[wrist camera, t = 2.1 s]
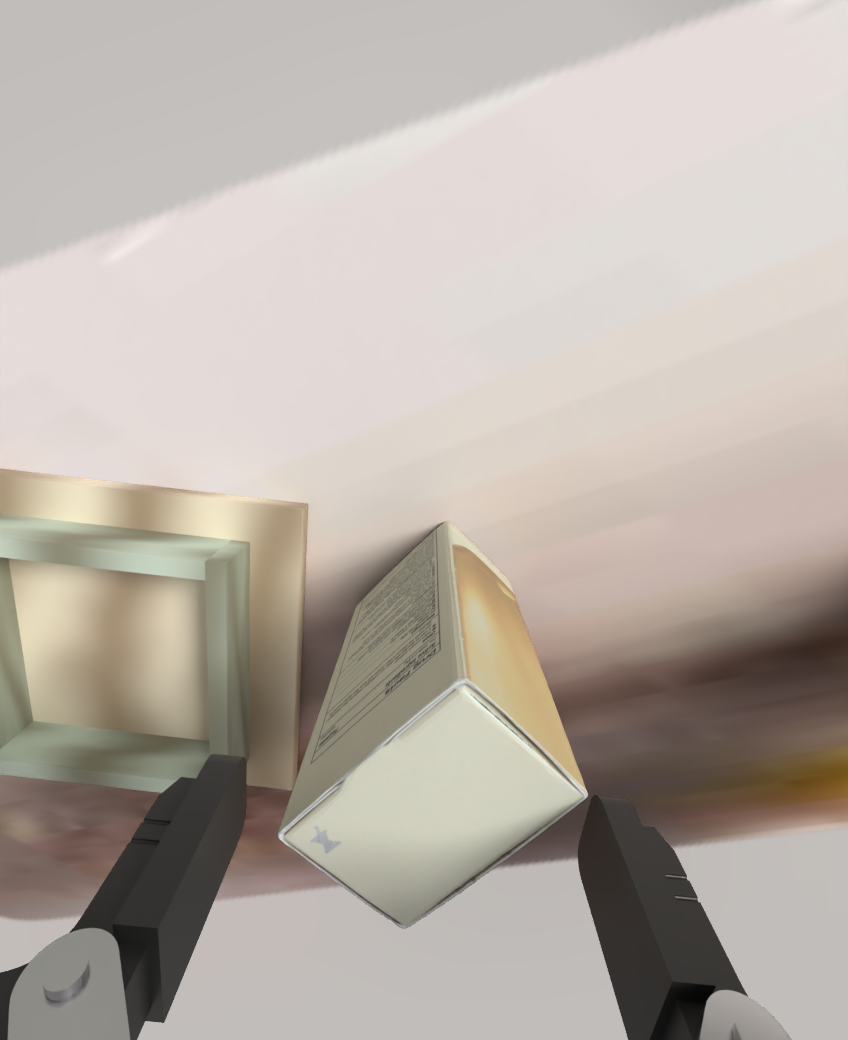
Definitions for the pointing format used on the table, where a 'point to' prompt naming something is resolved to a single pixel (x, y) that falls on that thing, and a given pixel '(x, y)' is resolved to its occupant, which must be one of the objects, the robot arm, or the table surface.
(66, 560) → the socket stand
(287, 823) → the skincare box
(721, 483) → the table surface
